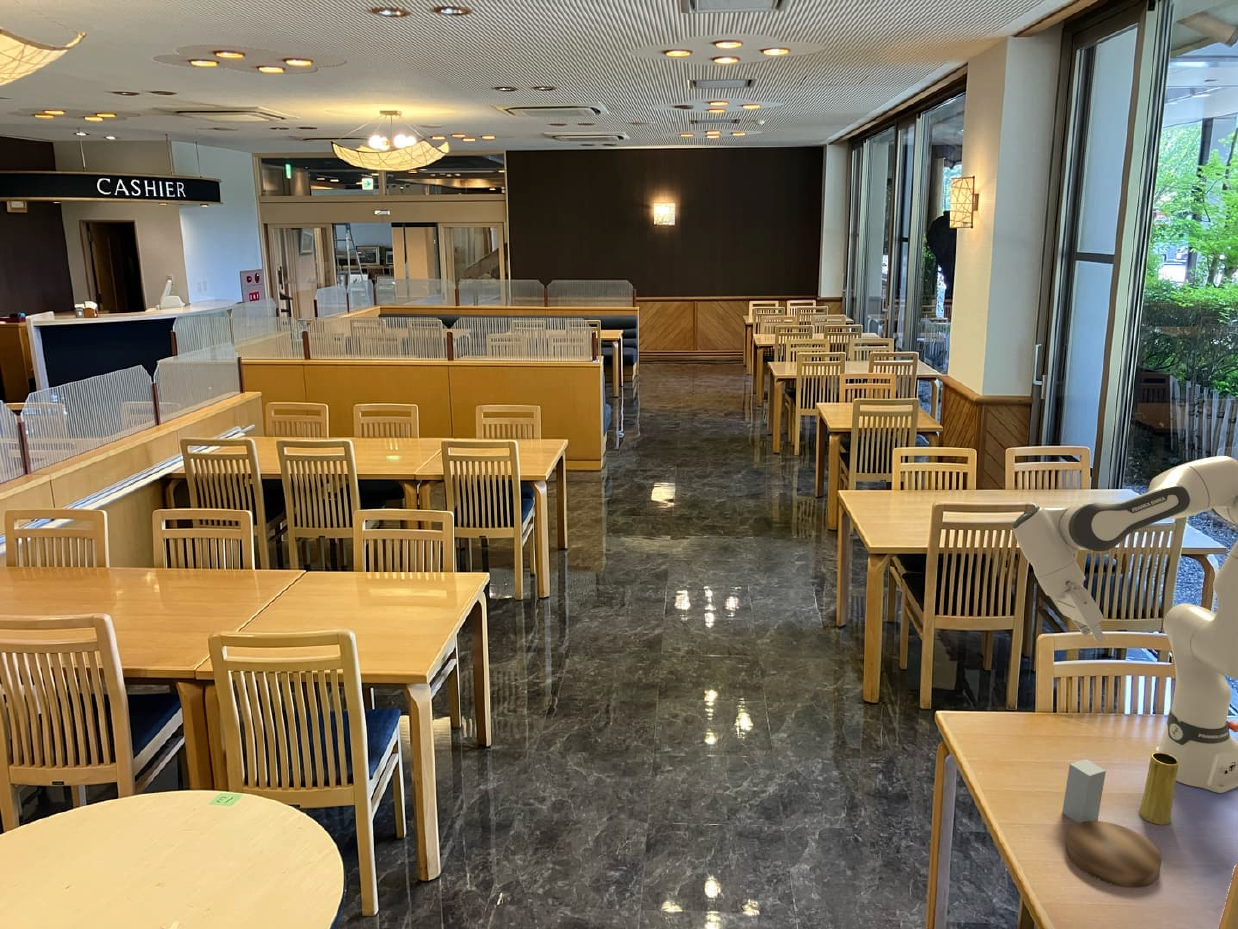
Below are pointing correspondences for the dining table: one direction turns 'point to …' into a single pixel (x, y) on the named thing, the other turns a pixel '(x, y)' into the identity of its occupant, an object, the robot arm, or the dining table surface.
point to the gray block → (1083, 791)
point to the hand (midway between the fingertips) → (1094, 637)
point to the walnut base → (1113, 854)
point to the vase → (1159, 788)
